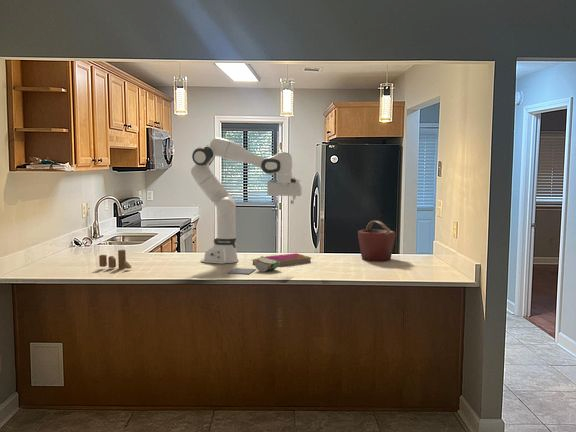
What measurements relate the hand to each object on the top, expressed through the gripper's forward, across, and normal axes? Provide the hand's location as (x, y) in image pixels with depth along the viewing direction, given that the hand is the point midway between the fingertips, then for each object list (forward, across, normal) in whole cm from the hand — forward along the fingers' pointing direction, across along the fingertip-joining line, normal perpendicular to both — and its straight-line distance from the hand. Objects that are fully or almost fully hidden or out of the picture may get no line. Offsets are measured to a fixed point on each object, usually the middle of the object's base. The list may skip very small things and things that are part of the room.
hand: (284, 203), depth 323 cm
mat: (+36, -17, -30) cm, 50 cm away
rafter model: (+37, -1, +1) cm, 37 cm away
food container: (+34, -6, -28) cm, 45 cm away
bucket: (+36, +52, +26) cm, 69 cm away
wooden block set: (+36, -86, -40) cm, 101 cm away
